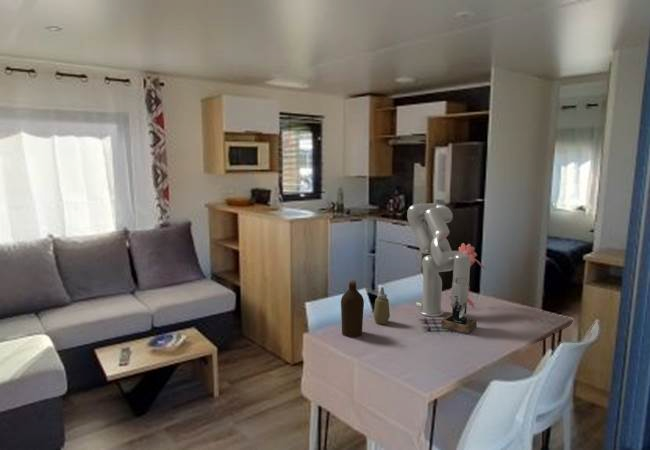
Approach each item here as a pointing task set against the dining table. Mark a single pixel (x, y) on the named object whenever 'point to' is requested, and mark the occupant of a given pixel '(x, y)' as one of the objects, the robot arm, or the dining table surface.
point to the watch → (460, 315)
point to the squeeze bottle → (381, 308)
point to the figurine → (470, 251)
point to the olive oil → (352, 311)
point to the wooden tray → (459, 325)
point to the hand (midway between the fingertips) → (459, 315)
